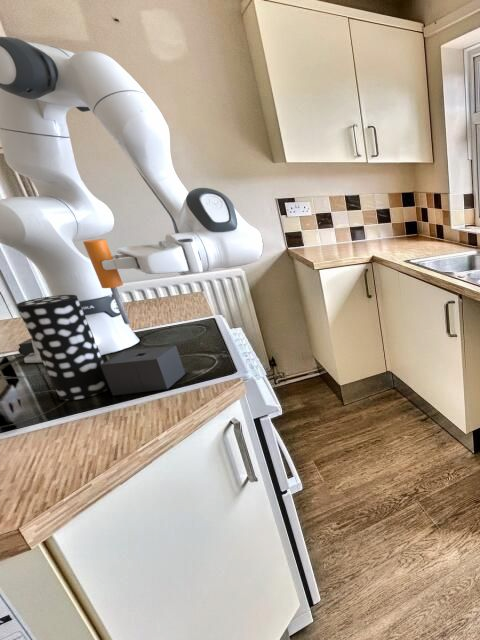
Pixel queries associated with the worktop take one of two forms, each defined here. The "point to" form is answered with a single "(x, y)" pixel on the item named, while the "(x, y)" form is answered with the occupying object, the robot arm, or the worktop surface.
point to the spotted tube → (65, 345)
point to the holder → (143, 370)
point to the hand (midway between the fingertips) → (99, 264)
